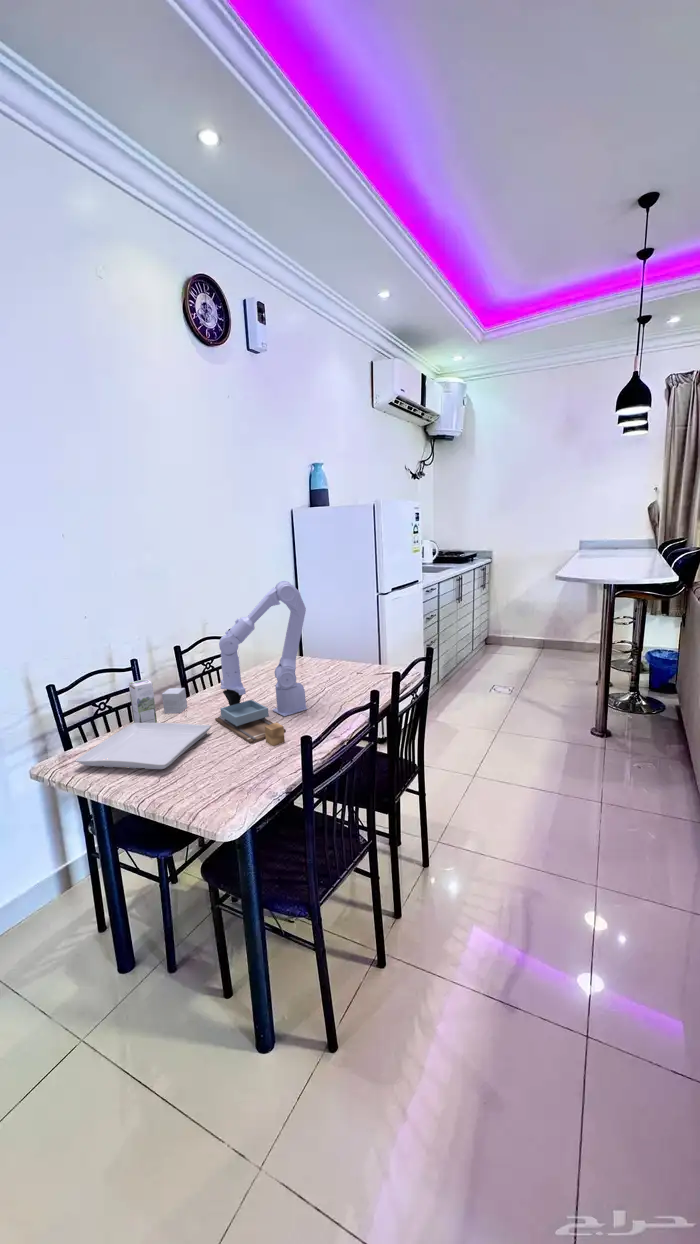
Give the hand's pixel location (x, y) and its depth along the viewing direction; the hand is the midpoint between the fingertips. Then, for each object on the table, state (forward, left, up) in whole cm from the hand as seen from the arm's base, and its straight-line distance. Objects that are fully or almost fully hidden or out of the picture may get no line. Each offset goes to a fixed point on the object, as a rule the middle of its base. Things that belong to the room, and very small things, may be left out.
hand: (235, 710), depth 169 cm
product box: (+12, -23, -3) cm, 26 cm away
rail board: (0, +10, -3) cm, 10 cm away
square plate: (+30, +5, -3) cm, 31 cm away
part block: (0, +26, -3) cm, 26 cm away
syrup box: (+24, -18, -3) cm, 30 cm away
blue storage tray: (0, +7, -1) cm, 7 cm away
